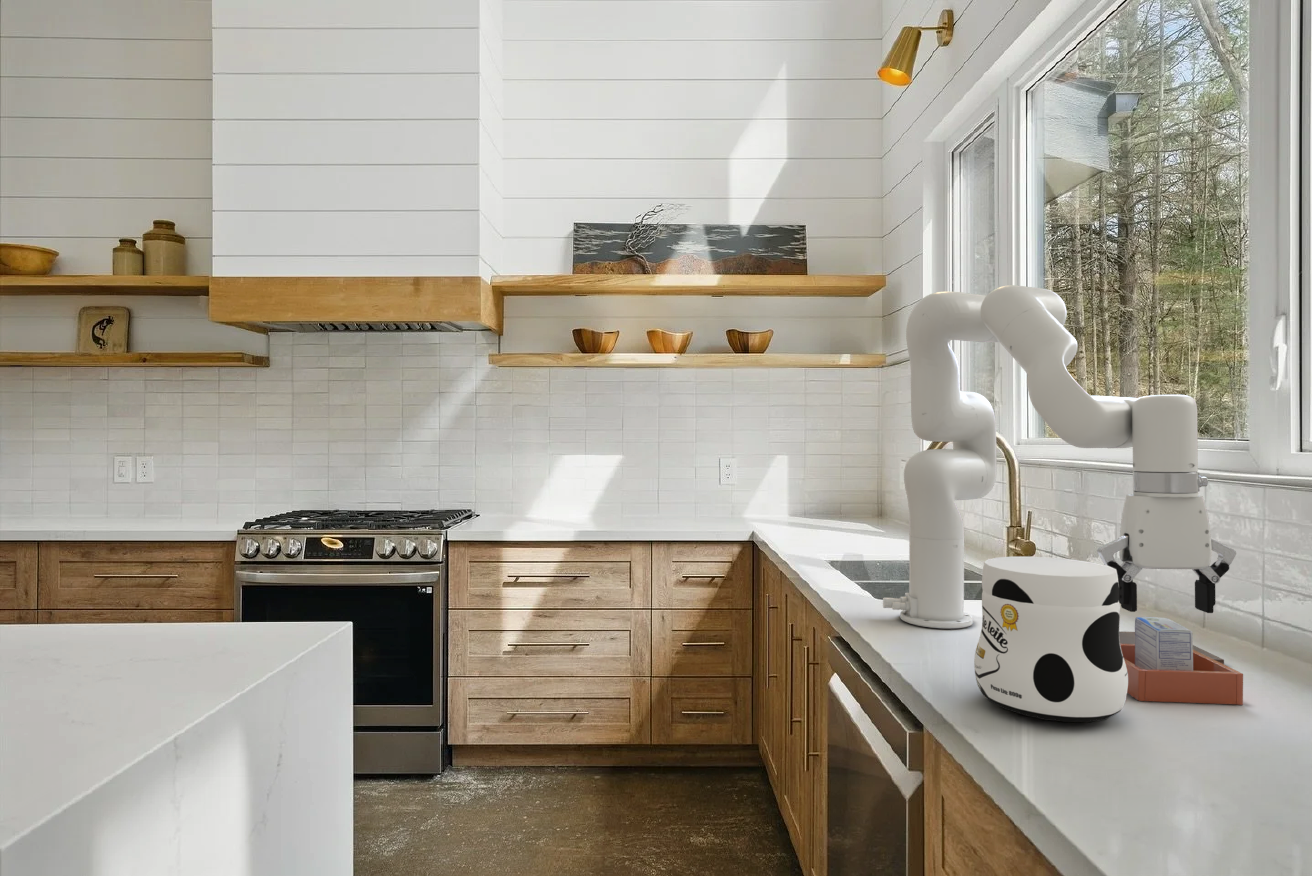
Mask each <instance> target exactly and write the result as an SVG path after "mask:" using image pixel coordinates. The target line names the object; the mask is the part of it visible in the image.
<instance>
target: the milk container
mask: <svg viewBox="0 0 1312 876" xmlns="http://www.w3.org/2000/svg"><path fill="white" fill-rule="evenodd" d="M981 573H982V574H981V589H982V593H981V614H982V615H981V616H982V618H981V619H982V620H981V621H982V622H981V631H980V634H979V638H978V642H977V645H976V648H975V652H974V658H973V659H974V660H973V664H974V665H973V667H974V675H975V681H976V685H977V687H978V690H979V691H980V693H981V694H982V695H983V697H985V698H986V699H987V700H988V701H990V702H991V703H993V704H995V705H997V706H998V707H1000V708H1002V709H1005V710H1007V711H1010V712H1013V713H1016V714H1019V715H1023V716H1026V717H1032V718H1036V719H1040V720H1044V721H1045V720H1046V721H1056V722H1063V723H1076V722H1077V723H1090V722H1097V721H1102V720H1103V721H1104V720H1108V719H1109V718H1111V717H1113V716H1116V715H1117V714H1118V713H1120V712H1121V710H1122V709H1123V708H1124V706H1125V703H1126V699H1127V696H1128V693H1127V689H1128V672H1127V668H1126V664H1125V661H1124V657H1123V654H1122V650H1121V646H1120V638H1119V631H1120V624H1121V623H1120V622H1121V604H1120V603H1119V584H1118V575H1117V570H1116V569H1114V568H1112V567H1110V566H1107V565H1104V564H1101V563H1098V562H1094V561H1086V560H1079V559H1071V558H1062V557H1052V556H1030V555H1029V556H1023V555H1022V556H1020V555H1019V556H998V557H997V556H996V557H993V558H987V559H986V560H985V561H984V562H983V565H982V572H981Z"/></svg>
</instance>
